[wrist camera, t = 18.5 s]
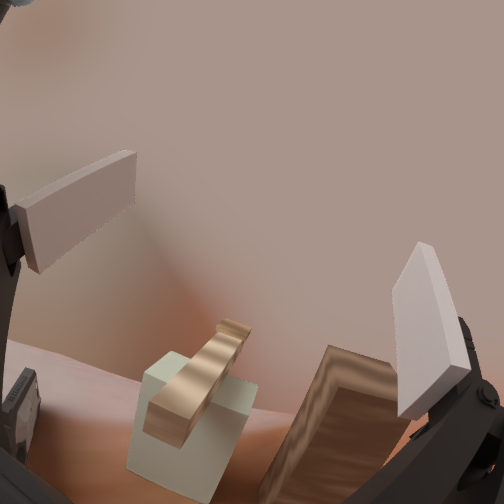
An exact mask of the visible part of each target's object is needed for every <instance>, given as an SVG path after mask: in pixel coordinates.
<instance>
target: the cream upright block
mask: <svg viewBox="0 0 504 504" xmlns="http://www.w3.org/2000/svg"><path fill="white" fill-rule="evenodd" d="M190 360H191V359H189V358H187V357H184V356H182V355H180V354H177V353H175V352H173V351H170V352H169V353H168V354H166V355H165V356H164V357H163V358H162V359H160V360H159V361H158V362H156V363H155V364H154V365H152V366H151V367H150V368H149V369H147V370H146V371H145V372H144V375H143V380H142V384H141V389H140V394H139V399H138V404H137V409H136V414H135V419H134V424H133V429H132V435H131V440H130V446H129V452H128V458H127V464H126V469H127V470H129V471H131V472H133V473H135V474H137V475H139V476H141V477H143V478H145V479H147V480H149V481H151V482H153V483H155V484H157V485H159V486H162V487H164V488H166V489H168V490H171V491H173V492H175V493H177V494H180V495H182V496H185V497H187V498H190V499H192V500H195V501H197V502H200V503H203V504H209V503H210V501H211V498H212V496H213V494H214V492H215V490H216V488H217V486H218V484H219V482H220V479H221V477H222V475H223V473H224V471H225V469H226V466H227V464H228V462H229V460H230V458H231V455H232V453H233V451H234V449H235V447H236V444H237V442H238V440H239V437H240V435H241V433H242V431H243V428H244V426H245V424H246V421H247V419H248V417H249V414H250V411H251V408H252V404H253V402H254V398H255V395H256V392H257V389H258V385H256V384H253V383H250V382H247V381H245V380H242V379H239V378H237V377H234V376H231V375H229V374H227V375H226V377H225V379H224V380H223V382H222V384H221V385H220V387H219V388H218V390H217V392H216V393H215V395H214V397H213V398H212V400H211V402H210V403H209V405H208V406H207V408H206V410H205V411H204V413H203V415H202V416H201V418H200V419H199V421H198V423H197V424H196V426H195V427H194V429H193V430H192V432H191V434H190V435H189V437H188V438H187V440H186V441H185V443H184V445H183V446H182V448H181V449H178V448H175V447H173V446H171V445H169V444H167V443H165V442H162V441H160V440H158V439H156V438H154V437H152V436H150V435H148V434H146V433H144V432H142V430H143V425H144V421H145V416H146V411H147V407H148V403H149V400H150V399H151V398H152V397H153V396H154V395H155V394H156V393H158V392H159V391H160V390H161V389H162V388H163V387H164V386H165V385H166V384H167V383H168V382H169V381H170V380H171V379H172V378H173V377H174V376H175V375H176V374H177V373H178V372H179V371H180V370H181V369H182V368H183V367H184V366H185V365H186V364H187V363H188V362H189V361H190Z"/></svg>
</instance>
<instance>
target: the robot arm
mask: <svg viewBox="0 0 504 504" xmlns="http://www.w3.org/2000/svg"><path fill="white" fill-rule="evenodd" d="M33 1H34V0H0V24H1V22H2V20H3V18H4V16H5V15H6V13H7V11H8V9H9V7H10V6H11V5H13V6H14V7H16V6H25V5H28V4H30V3H32V2H33ZM136 159H137V152H134V151H130V150H126V149H124V150H122V151H119V152H117V153H115V154H112V155H110V156H107V157H105V158H103V159H101V160H99V161H96V162H94V163H92V164H90V165H88V166H85V167H83V168H81V169H79V170H77V171H75V172H73V173H71V174H68V175H66V176H65V177H63V178H60V179H59V180H57V181H55V182H53V183H51V184H49V185H47V186H45V187H43V188H41V189H39V190H38V191H36V192H34V193H32V194H30V195H29V196H27V197H25V198H23V199H21V200H20V201H18V202H16V203H15V205H14V206H12V207H10V208H9V209H8V204H7V198H6V192H5V187H4V186H3V185H0V504H73V503H72V502H71V501H70V500H69V499H68V498H67V497H66V496H65V495H64V494H63V493H61V492H60V491H59V490H57V489H56V488H55V487H53V486H52V485H51V484H49V483H48V482H47V481H45V480H44V479H43V478H41V477H40V476H39V475H38V474H36V473H35V472H33V471H32V470H30V469H29V468H27V467H26V466H25V465H23V464H22V463H21V462H19V461H18V460H16V459H15V458H14V457H13V456H11V448H10V441H9V438H8V435H7V432H6V430H5V428H4V425H3V422H2V388H3V373H4V361H5V352H6V343H7V336H8V329H9V323H10V317H11V311H12V305H13V300H14V295H15V291H16V286H17V282H18V277H19V273H20V269H21V262H20V258H21V257H22V256H24V255H25V257H26V261H27V264H28V268H30V269H32V270H33V271H35V272H36V273H38V274H41V273H42V272H43V271H44V270H46V269H47V268H48V267H50V266H51V265H52V264H53V263H55V262H56V261H57V260H58V259H60V258H61V257H62V256H63V255H65V254H66V253H67V252H68V251H70V250H71V249H72V248H74V247H75V246H76V245H77V244H79V243H80V242H82V241H83V240H84V239H86V238H87V237H88V236H90V235H91V234H92V233H94V232H95V231H96V230H97V229H99V228H100V227H102V226H103V225H105V224H106V223H107V222H108V221H110V220H112V219H113V218H114V217H116V216H117V215H119V214H120V213H122V212H123V211H124V210H126V209H127V208H129V207H130V206H132V205H133V204H134V203H135V178H136V177H135V176H136ZM392 297H393V308H394V319H395V332H396V348H397V369H398V371H397V372H398V417H400V418H405V419H410V420H415V421H417V420H419V419H420V418H421V417H422V416H423V415H424V414H425V413H427V412H428V417H429V422H427V423H426V424H425V425H424V426H423V427H421V428H420V429H419V430H417V431H416V432H415V433H413V434H412V435H411V436H409V437H410V438H411V440H410V441H409V442H408V443H407V444H406V445H405V446H404V447H403V448H402V449H401V450H400V451H399V452H398V453H397V454H396V455H395V456H394V457H393V458H392V459H391V460H390V461H389V462H388V463H387V464H386V465H385V466H384V467H383V468H382V469H380V470H379V471H378V472H377V473H376V474H375V475H374V476H373V477H372V478H371V479H369V480H368V481H367V482H366V483H365V484H364V485H363V486H361V487H360V488H359V489H358V490H357V491H355V492H354V493H353V494H352V495H351V496H349V497H348V498H347V499H346V500H344V501H343V502H342V503H340V504H504V407H502V406H500V399H499V396H498V393H497V391H496V390H495V388H494V387H493V385H491V384H490V383H489V382H488V381H487V380H484V379H482V375H481V371H480V367H479V363H478V359H477V355H476V351H474V349H475V347H474V344H473V342H472V337H471V333H470V330H469V328H468V326H467V325H466V323H465V321H464V320H463V318H461V317H458V316H457V313H456V310H455V307H454V303H453V301H452V297H451V294H450V291H449V288H448V285H447V282H446V280H445V277H444V274H443V272H442V269H441V266H440V263H439V261H438V258H437V255H436V253H435V250H434V248H433V247H432V246H430V245H427V244H425V243H422V242H420V241H418V243H417V245H416V247H415V249H414V251H413V253H412V255H411V256H410V258H409V260H408V262H407V264H406V266H405V268H404V270H403V272H402V273H401V275H400V277H399V279H398V281H397V282H396V284H395V286H394V288H393V290H392ZM493 465H495V466H494V469H493V470H492V466H493ZM491 470H492V471H491Z"/></svg>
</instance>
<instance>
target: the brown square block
mask: <svg viewBox="0 0 504 504" xmlns="http://www.w3.org/2000/svg"><path fill="white" fill-rule="evenodd" d="M251 329H252V328H251V327H248V326H245V325H243V324H240V323H237V322H234V321H232V320H229V319H226V318H224V319H223V320H222V321H221V322H220V323H219V324H218V325H217V327H216V331H218V332H217V333H216V335H214V336H213V338H212V339H211V340H210V341H209V342H208V343H207V344H206V345H205V346H204V347H203V348H202V349H201V350H200V351H199V352H198V353H197V354H196V355H195V356H194V357H193V358H192V359H191V360H190V361H189V362H188V363H187V364H186V365H185V366H184V367H183V368H182V369H181V370H180V371H179V372H178V373H177V374H176V375H175V376H174V377H173V378H172V379H171V380H170V381H169V382H168V383H167V384H166V385H165V386H164V387H163V388H162V389H161V390H160V391H159V392H158V393H156V394H155V395H154V396H153V397H152V398H151V399H150V400H149V403H148V407H147V411H146V416H145V421H144V425H143V430H142V432H144V433H146V434H148V435H150V436H152V437H154V438H156V439H158V440H160V441H162V442H165V443H167V444H169V445H171V446H173V447H175V448H178V449H181V448H182V446H183V445H184V443H185V441H186V440H187V438H188V437H189V435H190V434H191V432H192V430H193V429H194V427H195V426H196V424H197V423H198V421H199V419H200V418H201V416H202V415H203V413H204V411H205V410H206V408H207V406H208V405H209V403H210V402H211V400H212V398H213V397H214V395H215V393H216V392H217V390H218V388H219V387H220V385H221V384H222V382H223V380H224V379H225V377H226V375H227V374H228V372H229V370H230V368H231V367H232V365H233V363H234V362H235V360H236V358H237V357H238V355H239V353H240V352H241V349H242V346H243V344H244V342H245V341H246V339H247V337H248V336H249V334H250V332H251Z"/></svg>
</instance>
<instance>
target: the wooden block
mask: <svg viewBox="0 0 504 504" xmlns="http://www.w3.org/2000/svg"><path fill="white" fill-rule="evenodd" d="M410 422H411V420H410V419H405V418H400V417H398V375H397V373H396V372H395V370H394V369H393V368H392V366H391V365H390V363H387V362H384V361H381V360H377V359H374V358H370V357H367V356H364V355H360V354H357V353H354V352H350V351H347V350H344V349H341V348H337V347H334V346H331V345H328V347H327V349H326V352H325V355H324V356H323V359H322V361H321V363H320V366H319V368H318V370H317V372H316V375H315V377H314V379H313V381H312V384H311V386H310V388H309V390H308V392H307V394H306V397H305V399H304V401H303V403H302V405H301V407H300V409H299V411H298V413H297V415H296V417H295V419H294V421H293V423H292V425H291V427H290V429H289V431H288V433H287V435H286V437H285V439H284V441H283V443H282V445H281V447H280V449H279V451H278V452H277V454H276V456H275V458H274V460H273V462H272V463H271V465H270V467H269V469H268V471H267V472H266V474H265V476H264V478H263V479H262V481H261V486H260V491H259V495H258V500H257V504H340V503H342V502H343V501H344V500H346V499H347V498H348V497H349V496H351V495H352V494H353V493H354V492H355V491H357V490H358V489H359V488H360V487H361V486H363V485H364V484H365V483H366V482H367V481H368V480H369V479H371V478H372V477H373V476H374V475H375V474H376V473H377V472H378V471H379V470H380V468H381V467H382V466H383V464H384V463H385V461H386V460H387V458H388V457H389V455H390V454H391V452H392V451H393V449H394V448H395V446H396V444H397V443H398V442H399V440H400V438H401V437H402V435H403V434H404V432H405V430H406V429H407V427H408V425H409V424H410Z"/></svg>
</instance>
